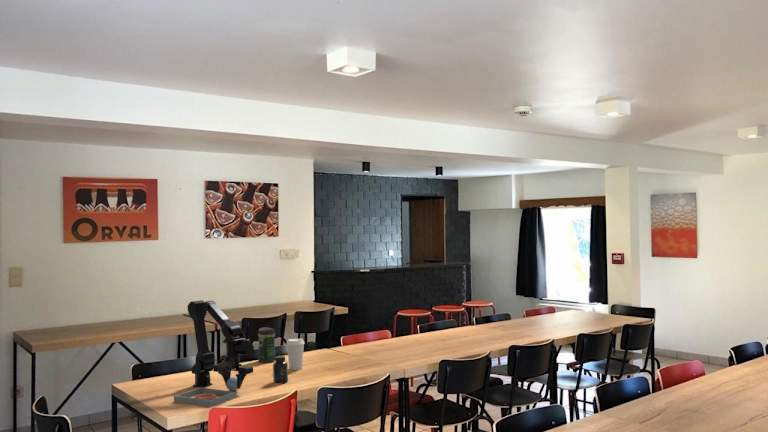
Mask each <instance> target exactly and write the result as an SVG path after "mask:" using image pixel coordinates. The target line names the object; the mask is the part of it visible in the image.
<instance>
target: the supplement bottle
mask: <svg viewBox="0 0 768 432" xmlns="http://www.w3.org/2000/svg"><path fill="white" fill-rule="evenodd" d="M288 368H289V363H288V362H287V361H286V356H285V355H277V356H276V355H275V361H274V362H273V365H272V373H273V374H272V375H273V377H272V378H273V383H274V384H285V383H288V381H289V369H288Z"/></svg>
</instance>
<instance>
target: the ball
mask: <svg viewBox="0 0 768 432" xmlns="http://www.w3.org/2000/svg"><path fill="white" fill-rule="evenodd" d="M226 385H227V387H226V388H227V389H228V391H233V392H237V391H238V390H239V389H238V387H237V377H236V376H233V377H230V379H229V380H228V381H227V384H225V386H226Z"/></svg>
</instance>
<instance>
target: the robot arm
mask: <svg viewBox="0 0 768 432" xmlns="http://www.w3.org/2000/svg"><path fill="white" fill-rule="evenodd" d="M186 309H187V312H188V316H189V317H190V318H191V321H193V327H194V334H195V341H196V349H197V353H196V356H195V358H194V359H195V360H194V361H195V363H194V364H193V366H192V367H191V369H190V371H191V374H194V384H192V387H195V388H196V387H197V388H200V387H201V388H207V387H209V386H211V385H213V383H212V382H211V373H210V372H215V373H216V372H217V373H218V374H219V375H220V376H221V377H222V378H223V381H224V383H225V384H224V385H225V386H226V388H227V385H226V384H227V381H228V380H229V379H230V378H231V376H232V372H237V373H235V378H237V387H238V389H237V390H240V389H241V387H242V384H243V382H244V380H245V379H246V376H247V375H250V374H252V373H254V367H253V366H252V365H242V363H241V362H240V358H242V356H251V355H252V354H253V353H254V350H255V346H254V344H253V343H252V341H251V339H249V338H248V339H247V337H246V335H245V333H244V331H243V330H242V327H241V325H240V324H238V323H237V322H236V321H234V320H231V319H230V318H229V317H228V316H227V315H226V314H225V313H224V312H223V311H222V309H221V308H220V307H219V306H218V305H217V303H216V301H214V300H207V301H206V300H205V301H204V300H194V301H190V302H188V305H187V308H186ZM207 313H208V314H209V315H210V316H211V318H212V319H213V320H214V321H215V322H216V323H217V324H218V325H219V326H220V330H221V331H220V332H221V333H222V336H224V339H223V341H222V343H224V344H225V345H226V346H225V348H226V349H225V350H226V352H225V353H226V354H225V355H224V357H223V360H221V362H219V363H217V364H216V363H215V362H216V359H215V358H216V357H215V352H214V351H213V352H211V350H210V348H209V343H208V342H209V341H208V335H207V327H206V321H205V318H206V316H207Z"/></svg>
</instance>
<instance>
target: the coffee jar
mask: <svg viewBox="0 0 768 432" xmlns="http://www.w3.org/2000/svg"><path fill="white" fill-rule="evenodd" d="M257 336H258V361H259V362H261V363H272V362H273V363H274V362H276V361H275V357H276V349H275V348H276V347H275V346H276V345H275V339H276V338H275V336H276V332H275V329H274V328H272V327H267V326H265V327H264V326H263V327H260V328H259V329H258V332H257Z"/></svg>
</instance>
